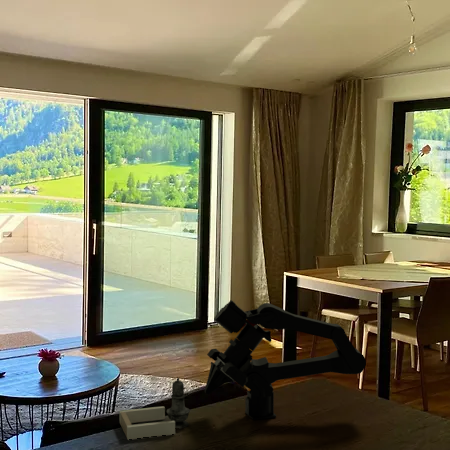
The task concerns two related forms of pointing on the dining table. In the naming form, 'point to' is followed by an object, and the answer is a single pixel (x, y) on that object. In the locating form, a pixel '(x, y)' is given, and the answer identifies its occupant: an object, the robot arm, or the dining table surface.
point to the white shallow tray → (145, 429)
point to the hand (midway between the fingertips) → (206, 393)
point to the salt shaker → (178, 405)
